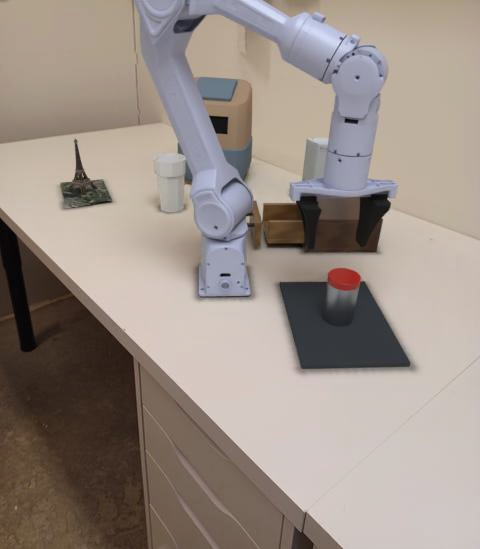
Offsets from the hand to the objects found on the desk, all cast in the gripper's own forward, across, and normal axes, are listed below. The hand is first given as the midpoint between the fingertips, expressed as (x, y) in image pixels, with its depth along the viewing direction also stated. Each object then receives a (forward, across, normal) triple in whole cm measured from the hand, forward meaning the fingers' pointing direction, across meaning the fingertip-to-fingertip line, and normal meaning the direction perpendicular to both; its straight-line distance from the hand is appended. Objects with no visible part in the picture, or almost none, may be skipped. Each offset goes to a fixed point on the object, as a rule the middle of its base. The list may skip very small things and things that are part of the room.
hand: (335, 244), depth 68 cm
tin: (+9, 0, +5) cm, 11 cm away
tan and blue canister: (+10, +10, -58) cm, 60 cm away
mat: (+10, 0, +5) cm, 11 cm away
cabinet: (+10, -8, -21) cm, 25 cm away
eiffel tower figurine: (+10, +41, -49) cm, 65 cm away
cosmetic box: (+10, -11, -37) cm, 40 cm away
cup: (+10, +22, -39) cm, 46 cm away
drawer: (+9, +3, -23) cm, 25 cm away
